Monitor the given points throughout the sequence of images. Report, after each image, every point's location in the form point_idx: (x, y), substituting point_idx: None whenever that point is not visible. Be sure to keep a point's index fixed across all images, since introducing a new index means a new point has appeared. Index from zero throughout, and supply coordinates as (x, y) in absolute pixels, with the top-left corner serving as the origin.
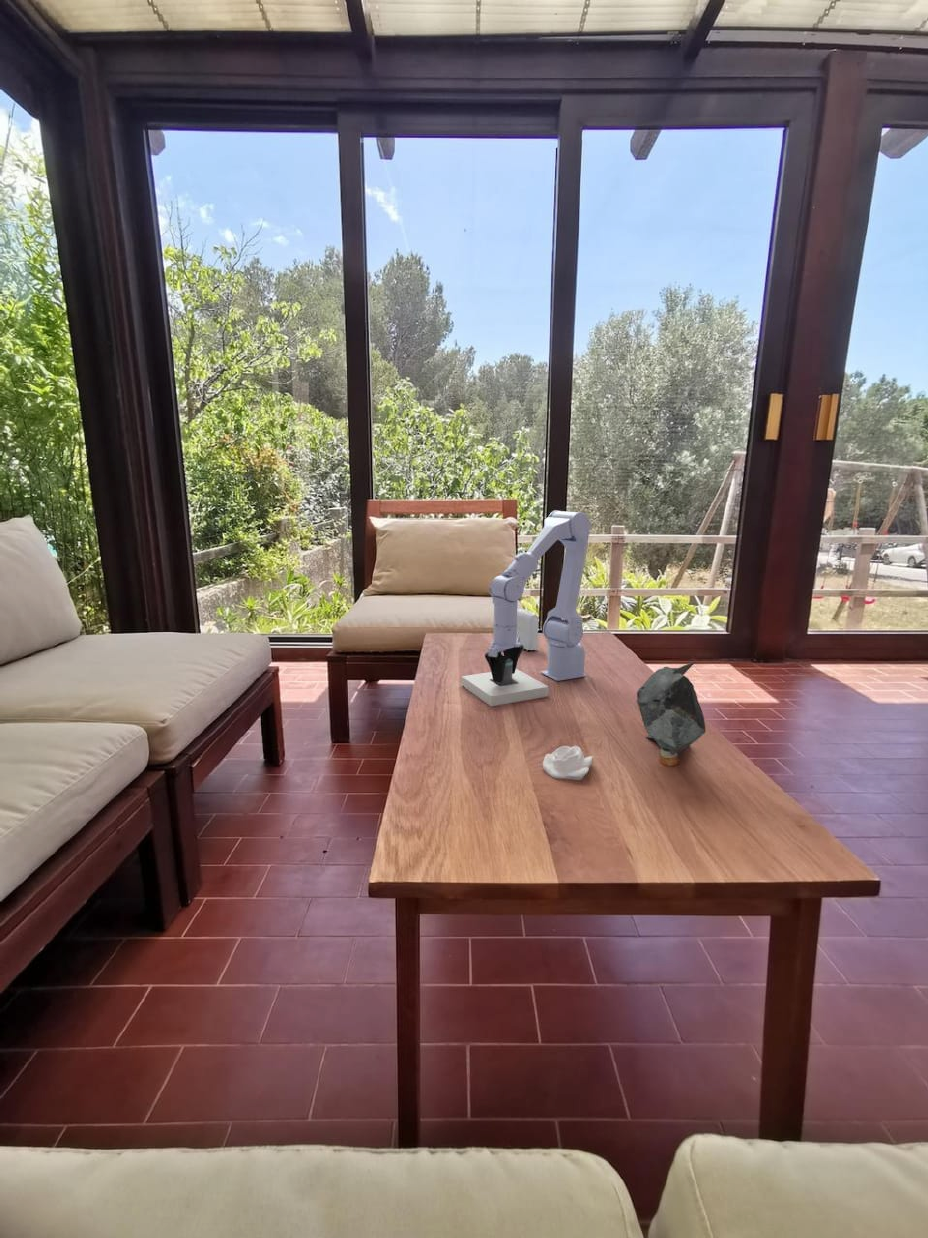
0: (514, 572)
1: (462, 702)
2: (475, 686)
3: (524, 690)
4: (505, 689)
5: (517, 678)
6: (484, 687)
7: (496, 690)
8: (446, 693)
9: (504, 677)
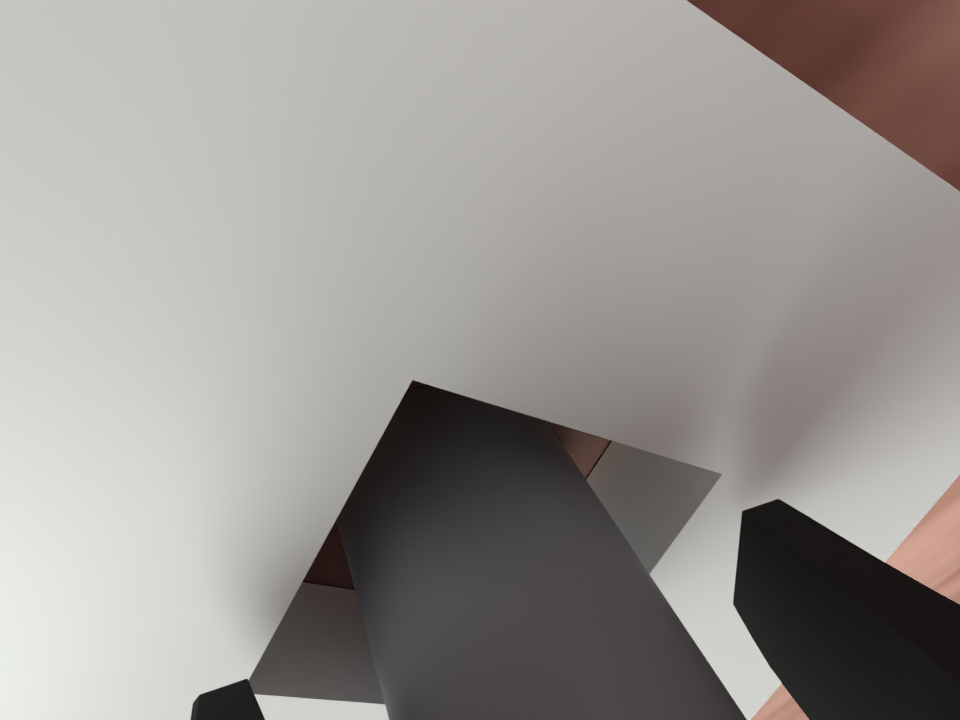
0: None
1: (946, 497)
2: None
3: (731, 55)
4: (809, 339)
5: (199, 563)
6: None
7: (888, 396)
8: (795, 703)
9: (653, 585)
